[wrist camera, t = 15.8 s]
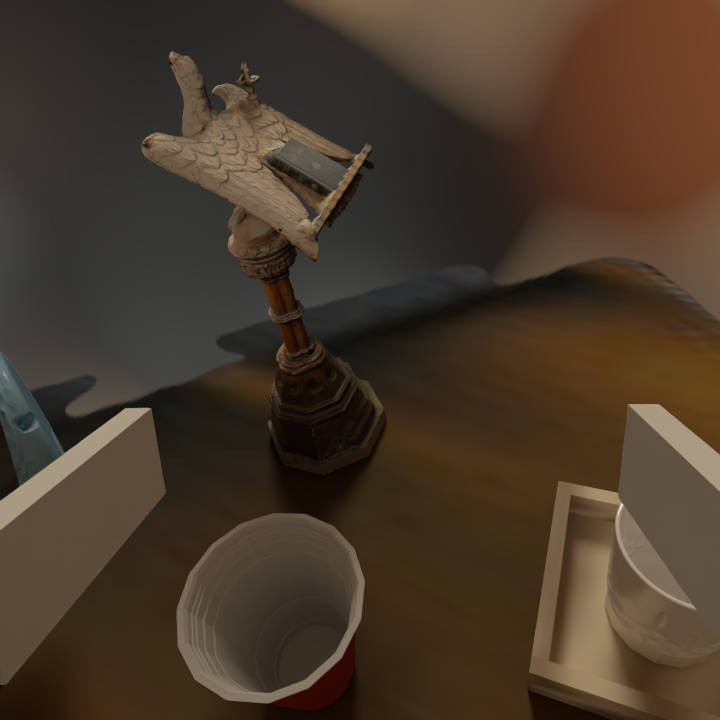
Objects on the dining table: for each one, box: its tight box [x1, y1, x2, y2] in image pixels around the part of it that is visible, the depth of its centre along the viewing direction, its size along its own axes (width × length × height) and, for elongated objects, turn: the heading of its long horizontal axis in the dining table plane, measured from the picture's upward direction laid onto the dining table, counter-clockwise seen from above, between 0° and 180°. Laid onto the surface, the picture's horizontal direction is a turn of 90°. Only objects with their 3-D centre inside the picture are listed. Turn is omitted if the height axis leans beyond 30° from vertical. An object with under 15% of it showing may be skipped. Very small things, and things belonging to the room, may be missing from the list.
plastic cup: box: [177, 513, 365, 711], centre depth 34 cm, size 11×11×12 cm
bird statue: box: [141, 52, 386, 476], centre depth 42 cm, size 17×13×35 cm
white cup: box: [605, 502, 720, 668], centre depth 32 cm, size 8×8×10 cm
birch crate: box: [528, 481, 720, 720], centre depth 35 cm, size 14×14×4 cm
